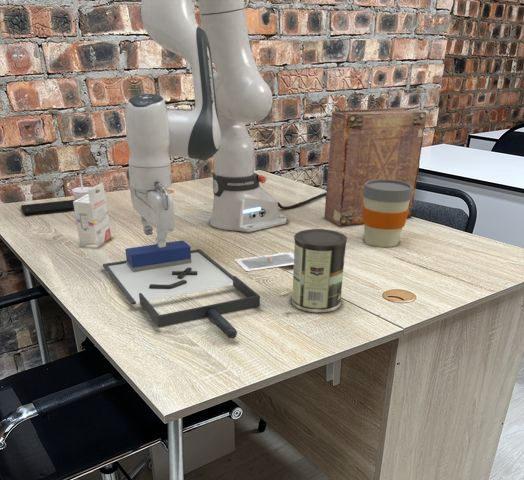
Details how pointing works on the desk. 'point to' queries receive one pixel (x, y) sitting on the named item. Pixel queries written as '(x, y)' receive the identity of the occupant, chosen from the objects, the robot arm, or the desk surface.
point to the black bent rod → (171, 286)
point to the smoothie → (80, 190)
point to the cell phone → (48, 207)
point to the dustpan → (207, 310)
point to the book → (370, 157)
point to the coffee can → (318, 270)
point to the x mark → (184, 273)
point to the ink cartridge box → (92, 217)
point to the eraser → (158, 256)
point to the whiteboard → (169, 278)
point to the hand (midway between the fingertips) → (154, 240)
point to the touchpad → (266, 261)
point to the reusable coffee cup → (385, 211)
